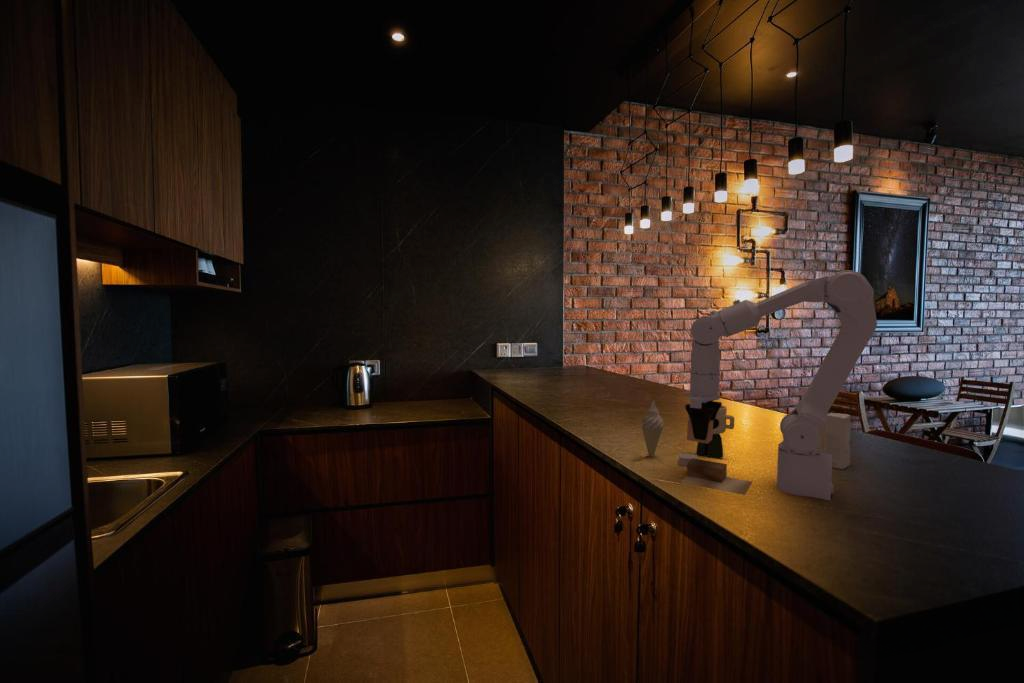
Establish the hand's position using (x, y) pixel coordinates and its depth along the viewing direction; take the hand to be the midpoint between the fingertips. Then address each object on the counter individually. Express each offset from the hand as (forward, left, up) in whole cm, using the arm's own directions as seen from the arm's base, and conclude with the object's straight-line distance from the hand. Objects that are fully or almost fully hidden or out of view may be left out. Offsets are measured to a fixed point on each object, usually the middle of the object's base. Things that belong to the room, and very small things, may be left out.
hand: (702, 437), depth 103 cm
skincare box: (-24, -31, -10) cm, 40 cm away
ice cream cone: (+13, -8, -10) cm, 18 cm away
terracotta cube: (+1, 0, -1) cm, 1 cm away
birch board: (-4, +2, -9) cm, 10 cm away
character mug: (+2, -19, -10) cm, 21 cm away
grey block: (+4, -7, -10) cm, 13 cm away
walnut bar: (-1, 0, -9) cm, 9 cm away
